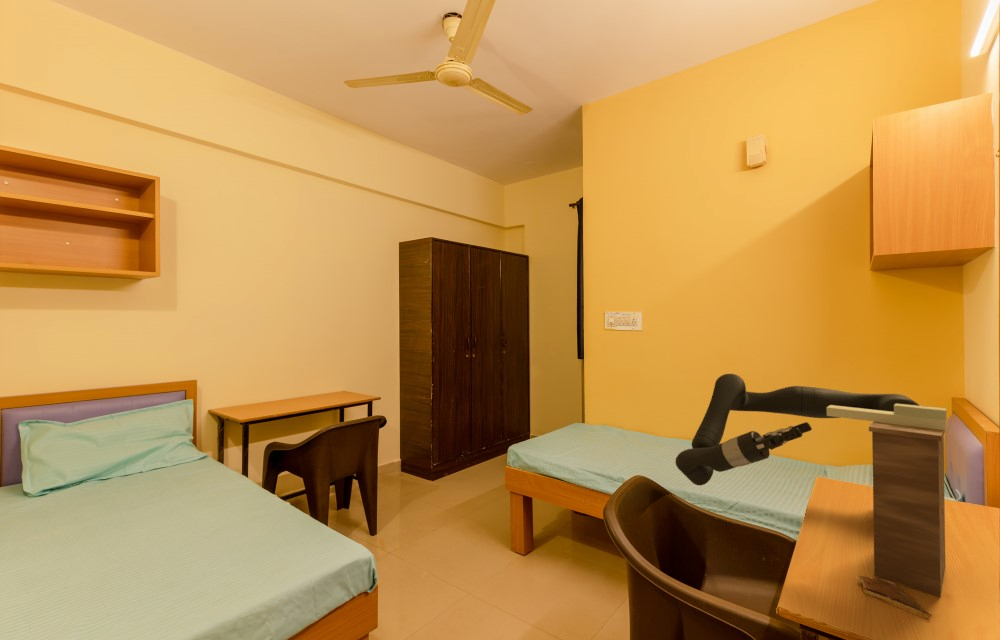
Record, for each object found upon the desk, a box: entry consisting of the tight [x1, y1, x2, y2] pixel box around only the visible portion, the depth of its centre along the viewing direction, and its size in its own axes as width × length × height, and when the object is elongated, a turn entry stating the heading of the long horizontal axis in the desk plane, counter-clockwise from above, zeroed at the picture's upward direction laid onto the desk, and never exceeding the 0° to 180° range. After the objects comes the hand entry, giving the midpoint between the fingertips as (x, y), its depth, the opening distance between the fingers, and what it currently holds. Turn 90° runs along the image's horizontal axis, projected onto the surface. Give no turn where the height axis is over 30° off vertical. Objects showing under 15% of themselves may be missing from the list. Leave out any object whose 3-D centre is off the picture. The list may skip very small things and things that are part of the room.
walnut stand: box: [868, 421, 946, 598], centre depth 95 cm, size 17×11×32 cm, turn 132°
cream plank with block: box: [827, 404, 948, 431], centre depth 99 cm, size 4×20×4 cm, turn 42°
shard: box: [857, 575, 933, 620], centre depth 86 cm, size 11×8×2 cm
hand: (805, 428), depth 110 cm, fingers open, 8 cm apart
